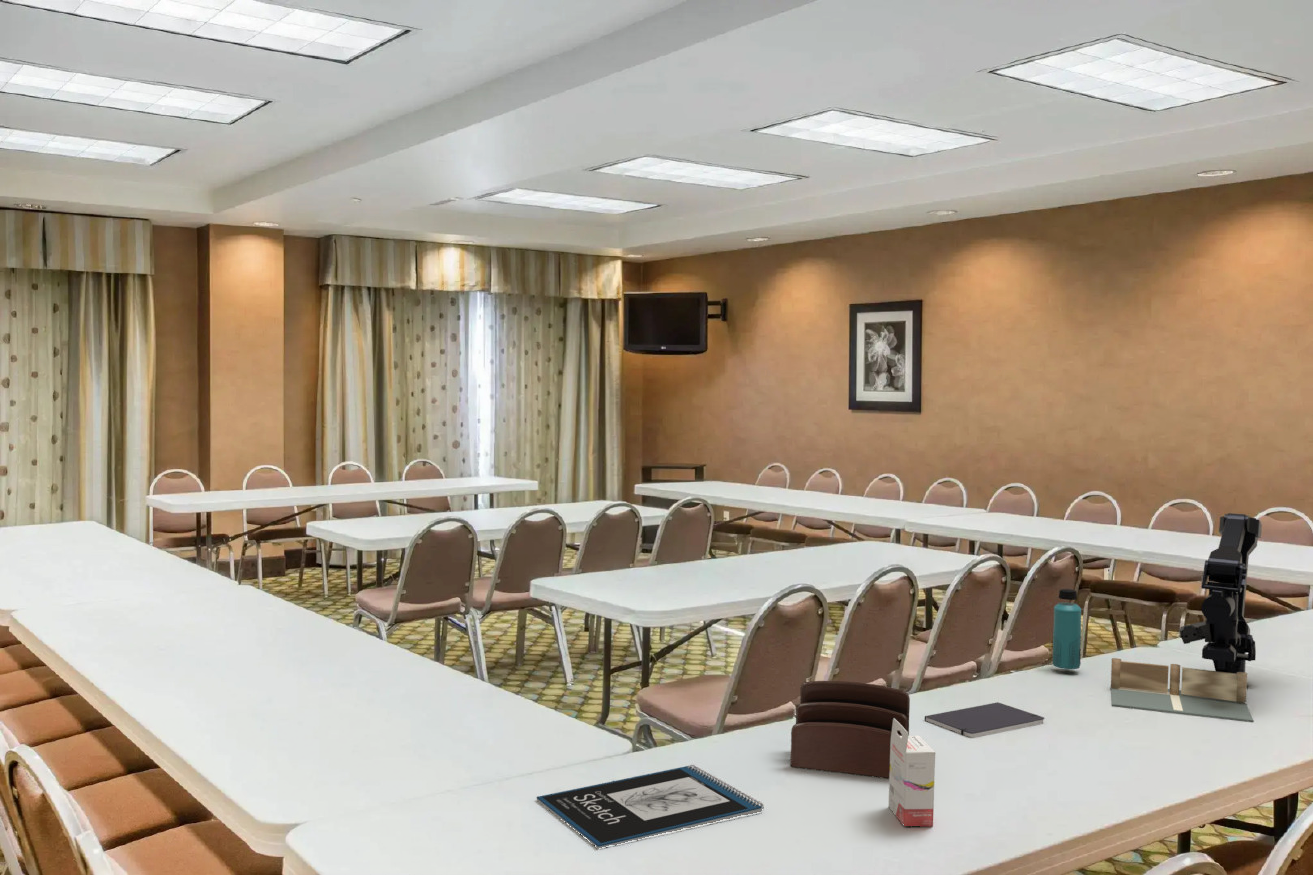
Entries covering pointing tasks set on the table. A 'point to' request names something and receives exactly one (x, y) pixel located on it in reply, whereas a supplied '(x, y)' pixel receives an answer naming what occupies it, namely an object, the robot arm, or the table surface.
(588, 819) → the sketchbook
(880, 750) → the letter holder
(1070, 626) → the beverage bottle
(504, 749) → the table surface
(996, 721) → the notebook
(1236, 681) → the hinged panel
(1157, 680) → the fixed fence
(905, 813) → the ink cartridge box
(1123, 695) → the board
